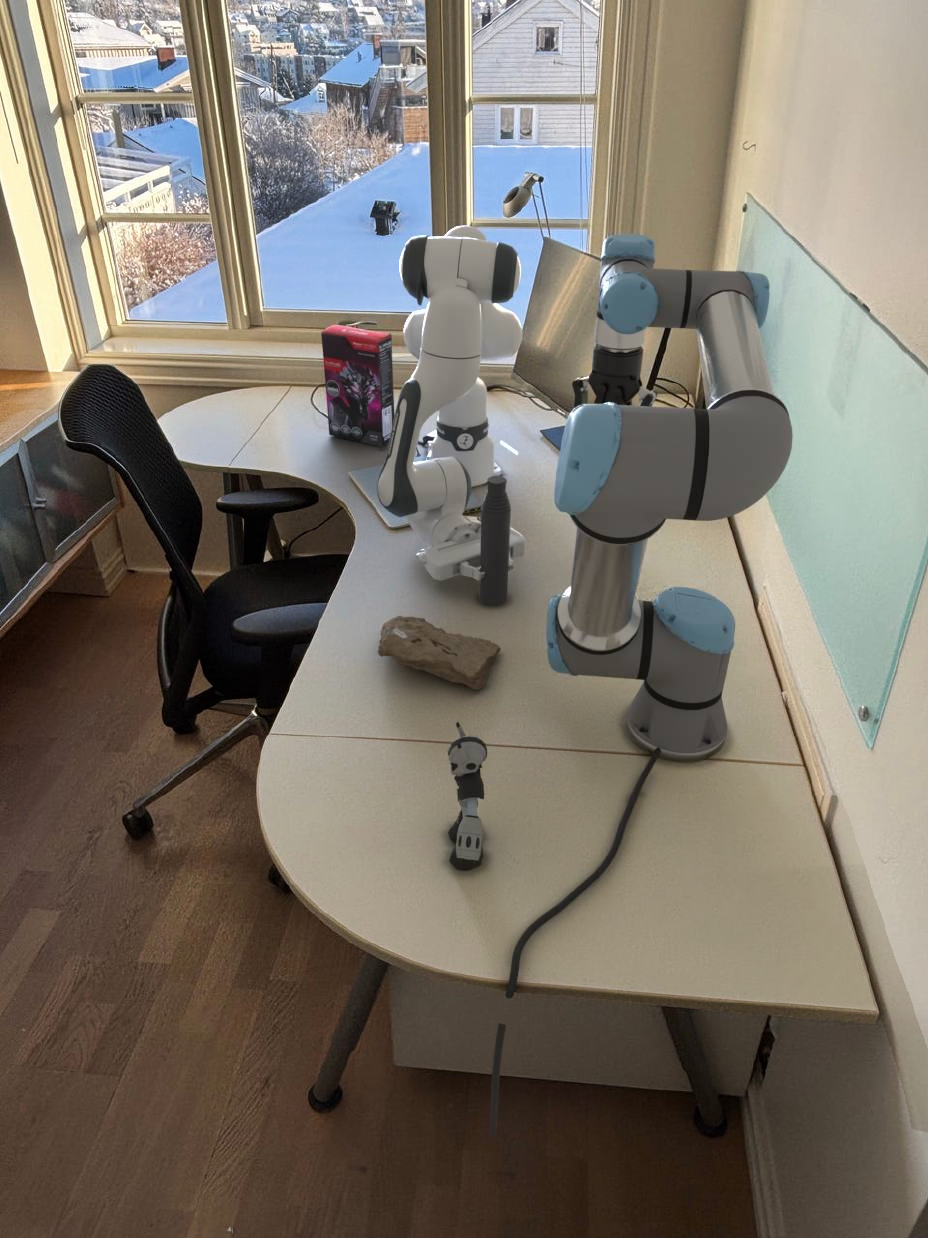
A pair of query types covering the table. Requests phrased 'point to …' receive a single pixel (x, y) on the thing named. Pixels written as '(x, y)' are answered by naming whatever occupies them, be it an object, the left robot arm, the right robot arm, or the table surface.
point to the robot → (467, 799)
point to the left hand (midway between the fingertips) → (497, 571)
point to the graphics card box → (359, 384)
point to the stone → (438, 651)
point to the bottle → (495, 543)
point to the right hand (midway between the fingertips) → (604, 485)
